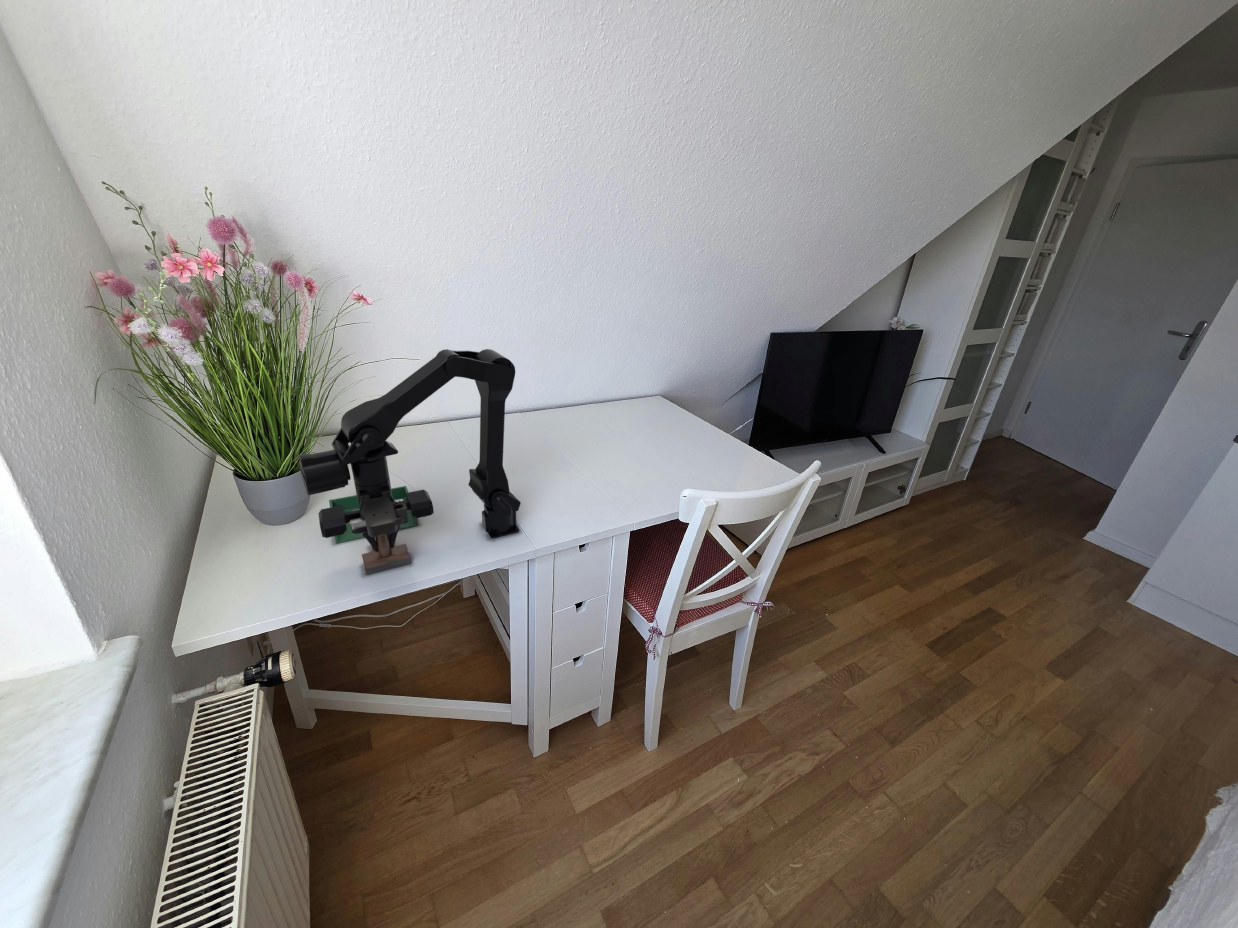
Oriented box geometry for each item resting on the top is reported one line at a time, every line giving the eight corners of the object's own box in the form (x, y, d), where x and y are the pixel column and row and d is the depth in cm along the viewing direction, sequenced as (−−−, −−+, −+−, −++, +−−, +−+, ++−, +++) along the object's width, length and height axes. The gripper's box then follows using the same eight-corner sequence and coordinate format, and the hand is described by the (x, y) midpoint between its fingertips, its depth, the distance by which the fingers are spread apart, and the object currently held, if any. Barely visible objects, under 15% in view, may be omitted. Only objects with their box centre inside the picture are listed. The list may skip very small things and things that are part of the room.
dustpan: (418, 525, 112) (416, 513, 111) (336, 543, 105) (333, 530, 103) (401, 480, 128) (399, 468, 127) (329, 492, 121) (326, 480, 119)
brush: (407, 555, 103) (402, 522, 99) (410, 564, 101) (405, 531, 97) (364, 566, 99) (357, 532, 96) (366, 575, 97) (359, 541, 93)
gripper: (314, 513, 80) (333, 589, 88) (436, 489, 89) (444, 560, 97) (310, 480, 89) (328, 552, 96) (423, 461, 98) (431, 528, 105)
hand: (384, 548), depth 98 cm, fingers closed on brush, 2 cm apart
